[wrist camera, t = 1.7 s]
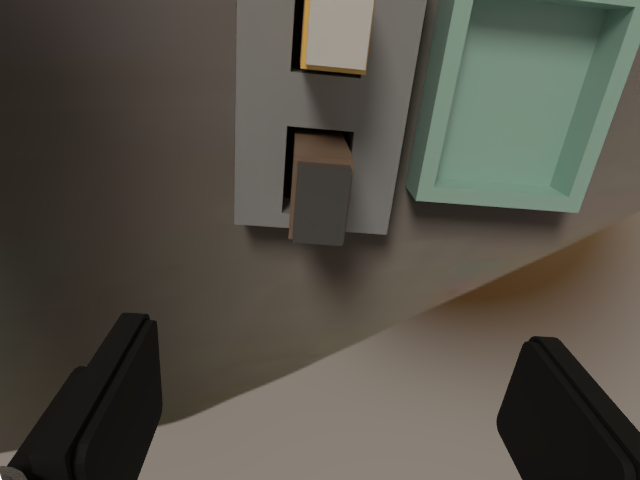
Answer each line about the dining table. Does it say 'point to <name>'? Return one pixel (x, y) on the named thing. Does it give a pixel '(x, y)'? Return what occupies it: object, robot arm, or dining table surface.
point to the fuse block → (321, 110)
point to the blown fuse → (320, 187)
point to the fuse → (336, 35)
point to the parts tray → (520, 100)
